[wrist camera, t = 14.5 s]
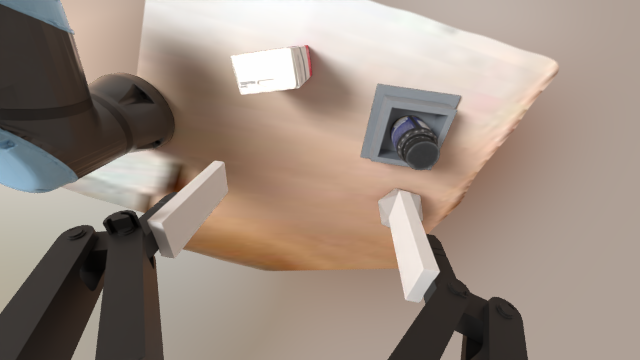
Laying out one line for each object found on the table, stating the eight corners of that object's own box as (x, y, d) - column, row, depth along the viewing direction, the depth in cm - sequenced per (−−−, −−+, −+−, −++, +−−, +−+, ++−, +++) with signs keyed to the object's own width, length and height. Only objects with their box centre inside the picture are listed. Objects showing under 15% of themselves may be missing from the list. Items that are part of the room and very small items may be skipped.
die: (368, 193, 52) (374, 237, 48) (392, 178, 44) (402, 230, 40) (398, 195, 55) (406, 237, 51) (426, 182, 47) (438, 230, 43)
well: (360, 156, 46) (361, 166, 43) (377, 83, 39) (380, 88, 35) (428, 166, 46) (435, 178, 42) (459, 95, 38) (471, 101, 34)
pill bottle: (389, 147, 44) (399, 176, 35) (389, 116, 41) (400, 139, 32) (423, 143, 43) (443, 172, 34) (425, 111, 40) (448, 133, 31)
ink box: (308, 43, 37) (292, 45, 27) (312, 76, 39) (299, 89, 30) (259, 51, 38) (227, 55, 28) (266, 82, 41) (239, 96, 31)
